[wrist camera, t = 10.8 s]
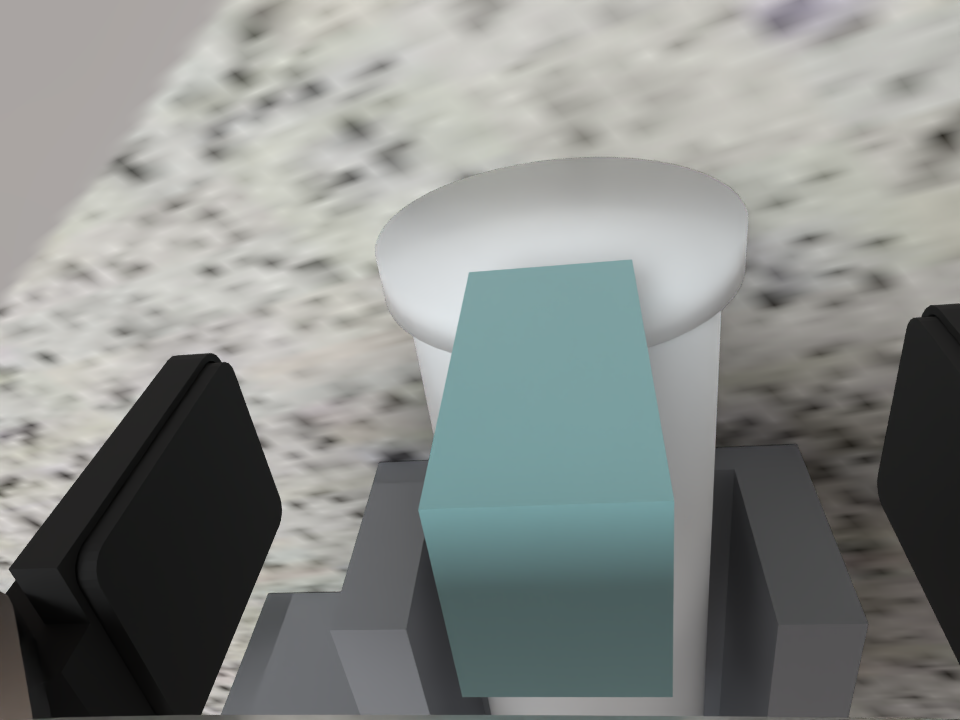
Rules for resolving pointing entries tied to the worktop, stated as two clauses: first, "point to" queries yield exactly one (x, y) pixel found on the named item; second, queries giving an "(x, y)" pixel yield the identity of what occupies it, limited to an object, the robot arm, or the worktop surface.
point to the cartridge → (571, 423)
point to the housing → (436, 691)
